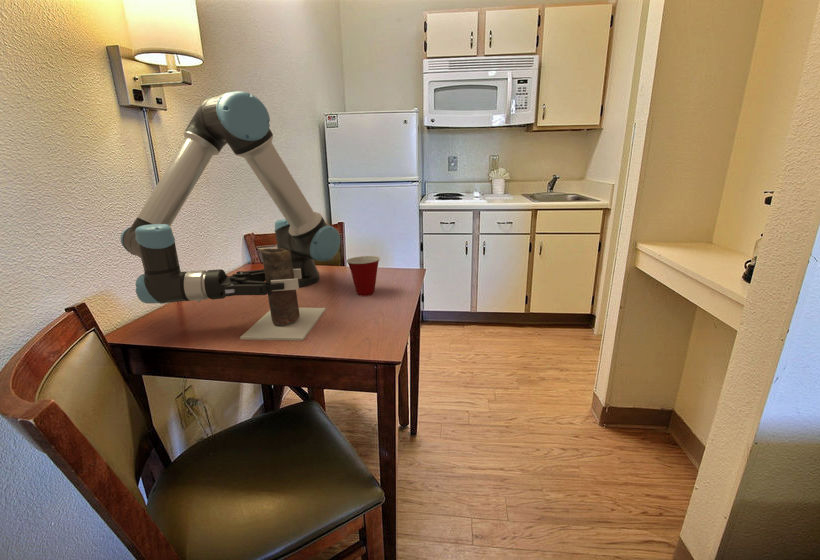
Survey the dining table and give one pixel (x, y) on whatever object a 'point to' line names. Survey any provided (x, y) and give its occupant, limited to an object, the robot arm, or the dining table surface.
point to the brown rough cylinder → (280, 301)
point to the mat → (284, 327)
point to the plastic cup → (364, 273)
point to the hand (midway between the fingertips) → (299, 278)
